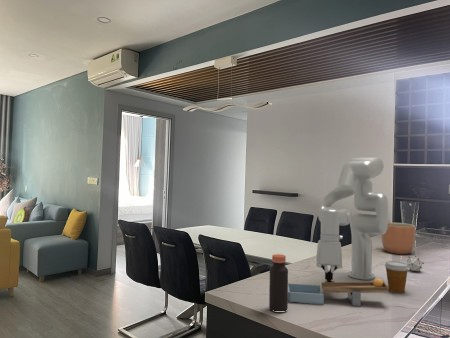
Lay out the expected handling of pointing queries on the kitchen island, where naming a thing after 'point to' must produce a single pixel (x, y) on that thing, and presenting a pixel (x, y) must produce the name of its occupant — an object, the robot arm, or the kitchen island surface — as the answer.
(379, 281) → the ball
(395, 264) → the disposable coffee cup
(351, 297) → the grey arch block
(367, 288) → the lever
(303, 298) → the dish
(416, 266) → the spiky grey ball
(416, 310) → the kitchen island surface
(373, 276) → the robot arm
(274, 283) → the bottle
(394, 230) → the planter
